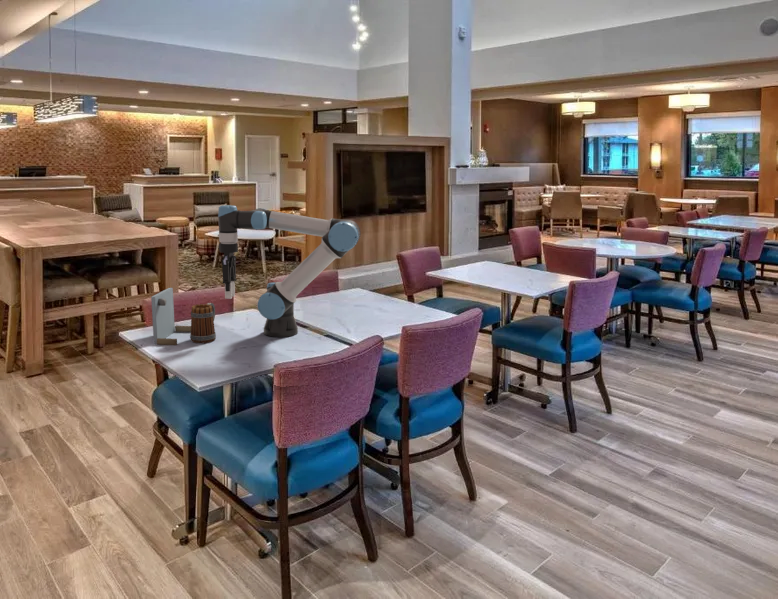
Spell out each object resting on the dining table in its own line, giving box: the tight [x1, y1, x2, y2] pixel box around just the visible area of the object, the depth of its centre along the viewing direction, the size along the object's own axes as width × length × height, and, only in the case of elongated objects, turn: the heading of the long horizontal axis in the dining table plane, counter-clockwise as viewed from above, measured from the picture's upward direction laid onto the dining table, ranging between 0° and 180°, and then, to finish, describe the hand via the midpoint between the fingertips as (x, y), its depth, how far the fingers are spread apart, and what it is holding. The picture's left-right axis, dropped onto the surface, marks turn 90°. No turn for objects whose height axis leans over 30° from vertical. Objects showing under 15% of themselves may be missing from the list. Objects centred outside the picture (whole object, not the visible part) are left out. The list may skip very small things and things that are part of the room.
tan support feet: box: [156, 325, 191, 346], centre depth 271 cm, size 8×22×2 cm, turn 179°
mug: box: [189, 302, 217, 344], centre depth 270 cm, size 16×11×15 cm
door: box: [150, 287, 176, 345], centre depth 269 cm, size 4×20×20 cm, turn 179°
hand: (230, 297), depth 267 cm, fingers open, 4 cm apart
